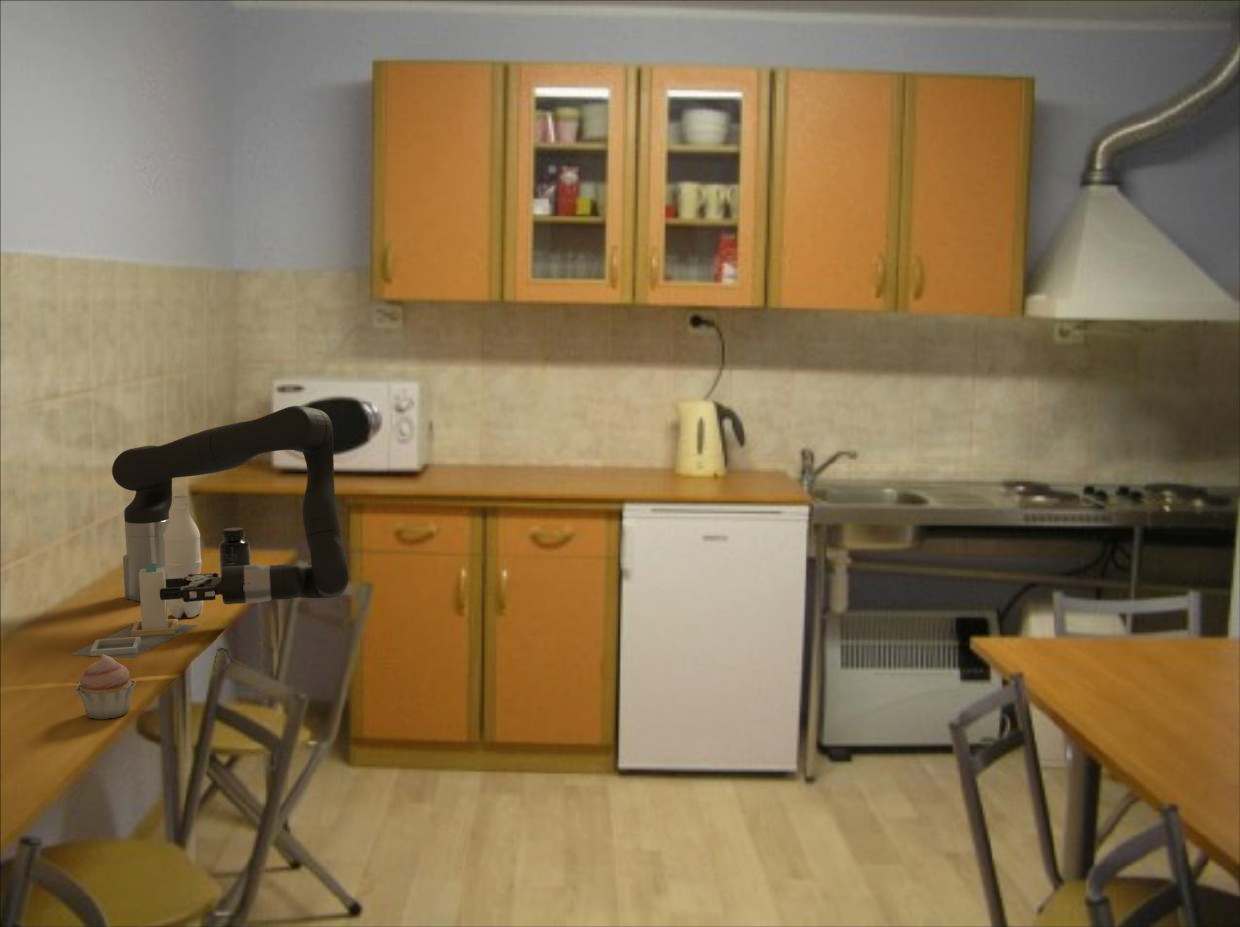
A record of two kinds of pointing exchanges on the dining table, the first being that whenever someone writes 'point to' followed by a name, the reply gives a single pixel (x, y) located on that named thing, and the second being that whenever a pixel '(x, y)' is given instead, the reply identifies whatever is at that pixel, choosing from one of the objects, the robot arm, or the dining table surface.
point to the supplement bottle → (234, 548)
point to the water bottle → (182, 554)
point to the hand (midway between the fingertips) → (162, 589)
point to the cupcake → (105, 689)
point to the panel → (134, 640)
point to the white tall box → (152, 598)
